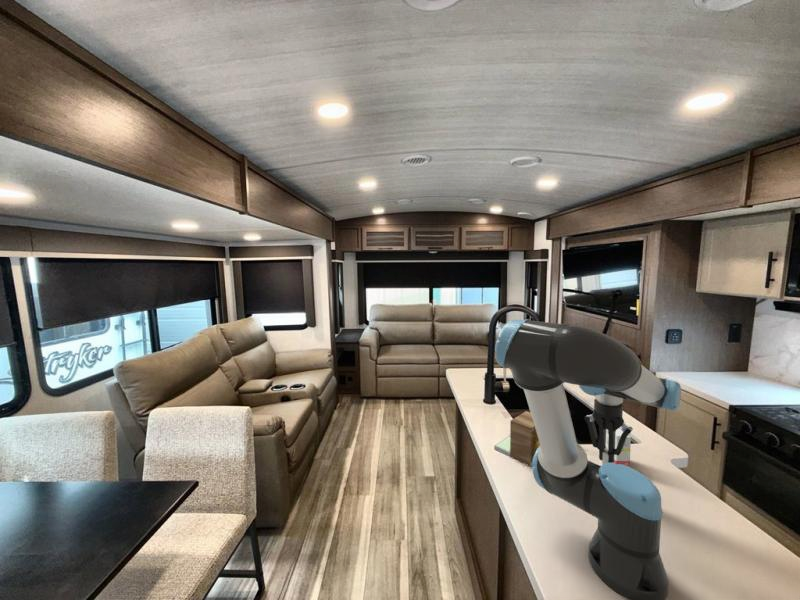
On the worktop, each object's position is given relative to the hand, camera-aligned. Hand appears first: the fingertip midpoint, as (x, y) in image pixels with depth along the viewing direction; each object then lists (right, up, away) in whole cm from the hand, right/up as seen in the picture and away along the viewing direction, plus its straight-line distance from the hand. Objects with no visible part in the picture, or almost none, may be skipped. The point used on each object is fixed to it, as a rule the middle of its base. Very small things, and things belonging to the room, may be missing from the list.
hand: (606, 470), depth 100 cm
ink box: (+14, -5, +15) cm, 21 cm away
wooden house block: (-17, -5, +20) cm, 27 cm away
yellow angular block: (-11, -3, +12) cm, 17 cm away
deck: (-17, -5, +20) cm, 27 cm away
